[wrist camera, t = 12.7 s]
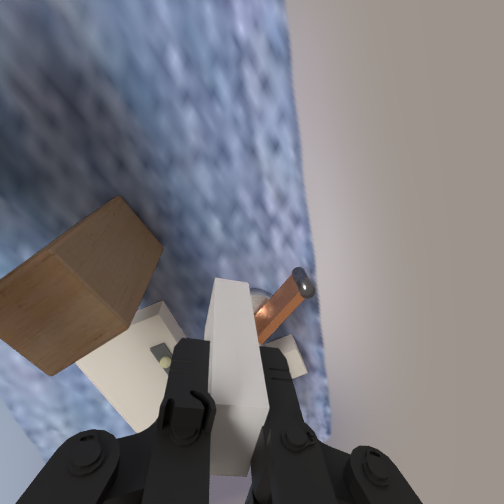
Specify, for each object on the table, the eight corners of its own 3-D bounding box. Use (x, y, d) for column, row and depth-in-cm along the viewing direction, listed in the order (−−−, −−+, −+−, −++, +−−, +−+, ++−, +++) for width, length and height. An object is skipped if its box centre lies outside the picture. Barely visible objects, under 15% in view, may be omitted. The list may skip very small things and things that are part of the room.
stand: (76, 335, 52) (40, 391, 41) (258, 260, 49) (269, 299, 39) (144, 417, 60) (128, 480, 50) (302, 357, 58) (320, 409, 48)
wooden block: (65, 231, 45) (-42, 309, 26) (119, 193, 43) (46, 248, 25) (114, 281, 48) (49, 380, 30) (165, 247, 47) (130, 330, 29)
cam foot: (250, 348, 56) (256, 387, 48) (206, 323, 53) (204, 361, 45) (318, 274, 51) (337, 304, 43) (274, 243, 48) (286, 268, 40)
